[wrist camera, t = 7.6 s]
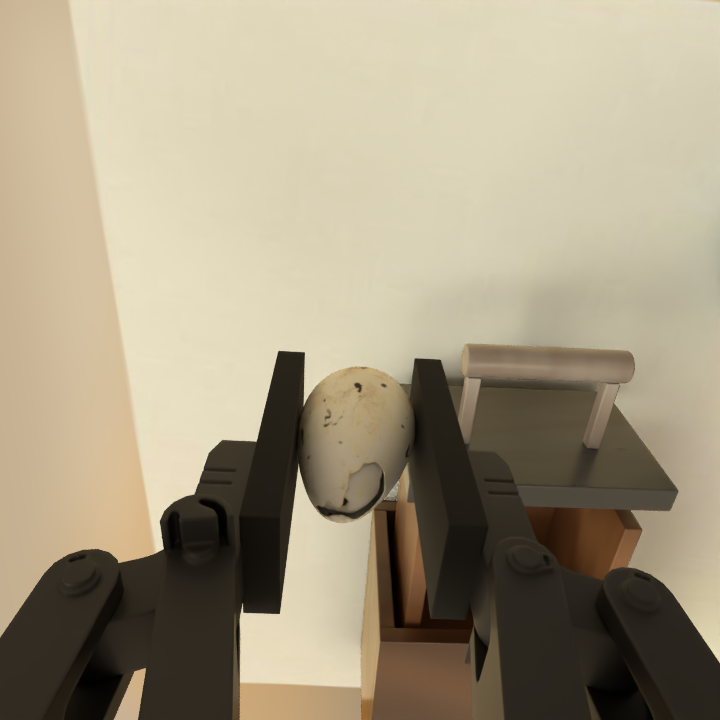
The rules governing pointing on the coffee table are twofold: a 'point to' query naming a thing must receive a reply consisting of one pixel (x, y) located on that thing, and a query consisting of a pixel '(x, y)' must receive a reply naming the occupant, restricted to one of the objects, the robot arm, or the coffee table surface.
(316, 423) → the egg
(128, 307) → the coffee table surface
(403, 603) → the drawer
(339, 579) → the coffee table surface
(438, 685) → the cabinet
